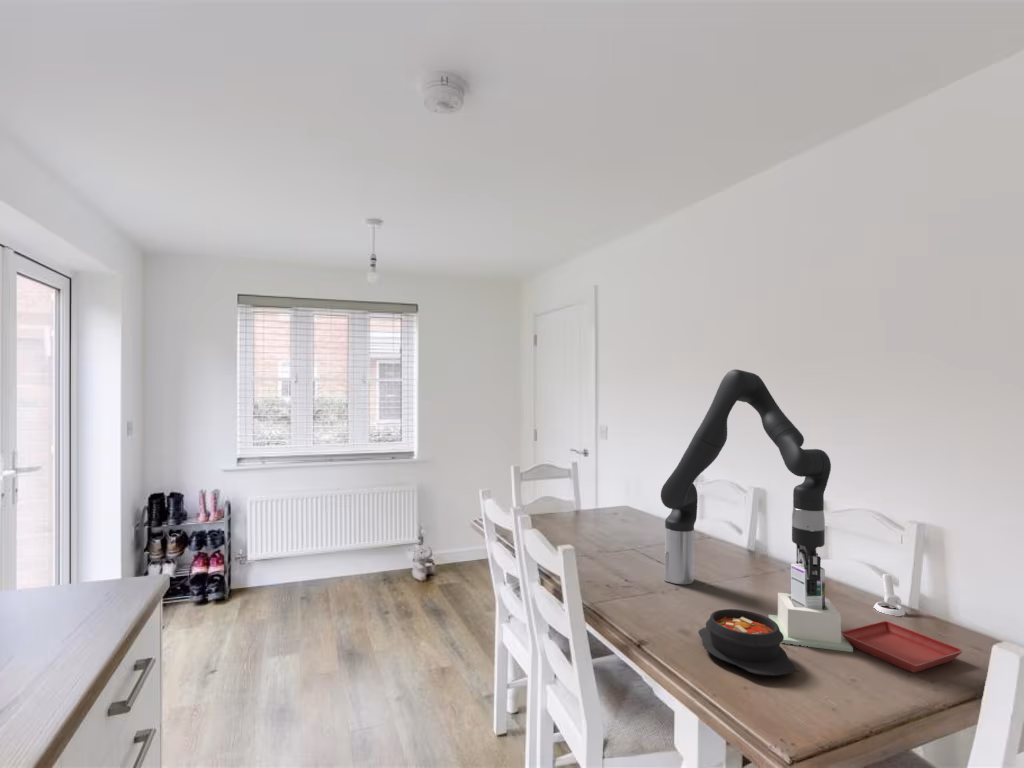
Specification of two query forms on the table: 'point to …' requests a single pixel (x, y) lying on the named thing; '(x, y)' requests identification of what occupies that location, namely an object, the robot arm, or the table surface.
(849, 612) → the table surface
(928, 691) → the table surface
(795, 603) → the syrup box
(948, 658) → the plant saucer
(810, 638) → the box
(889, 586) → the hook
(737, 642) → the casserole
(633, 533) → the table surface
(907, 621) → the table surface
